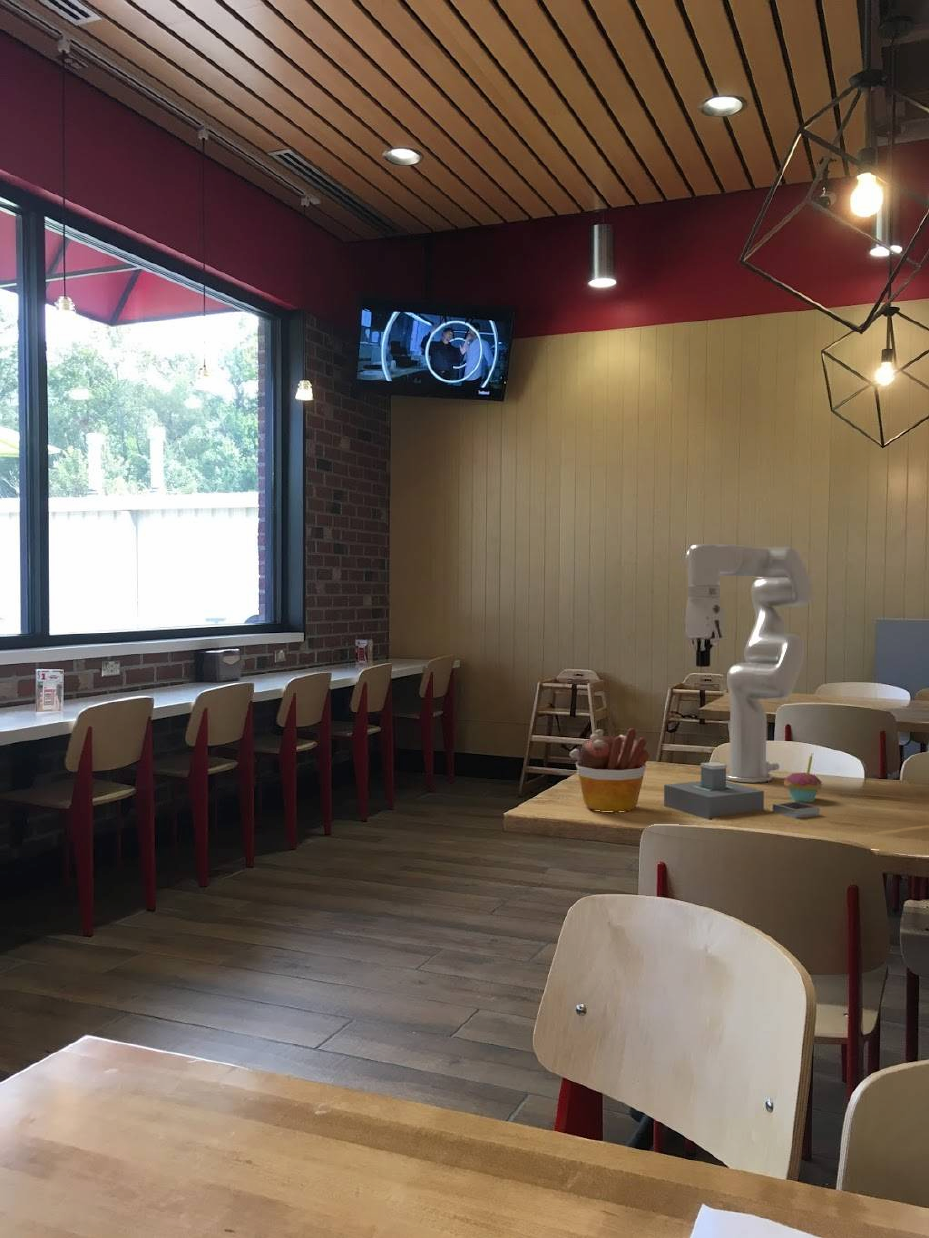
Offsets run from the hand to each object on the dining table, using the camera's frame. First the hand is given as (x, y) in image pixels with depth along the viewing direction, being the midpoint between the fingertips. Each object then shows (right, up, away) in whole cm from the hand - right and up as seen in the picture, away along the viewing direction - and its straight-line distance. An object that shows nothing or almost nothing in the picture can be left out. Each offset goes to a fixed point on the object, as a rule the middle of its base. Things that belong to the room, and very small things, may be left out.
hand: (703, 666), depth 251 cm
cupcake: (+22, -33, -10) cm, 40 cm away
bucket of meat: (-26, -33, -17) cm, 45 cm away
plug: (-2, -32, -18) cm, 36 cm away
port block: (-2, -33, -18) cm, 37 cm away
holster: (+15, -33, -25) cm, 44 cm away
